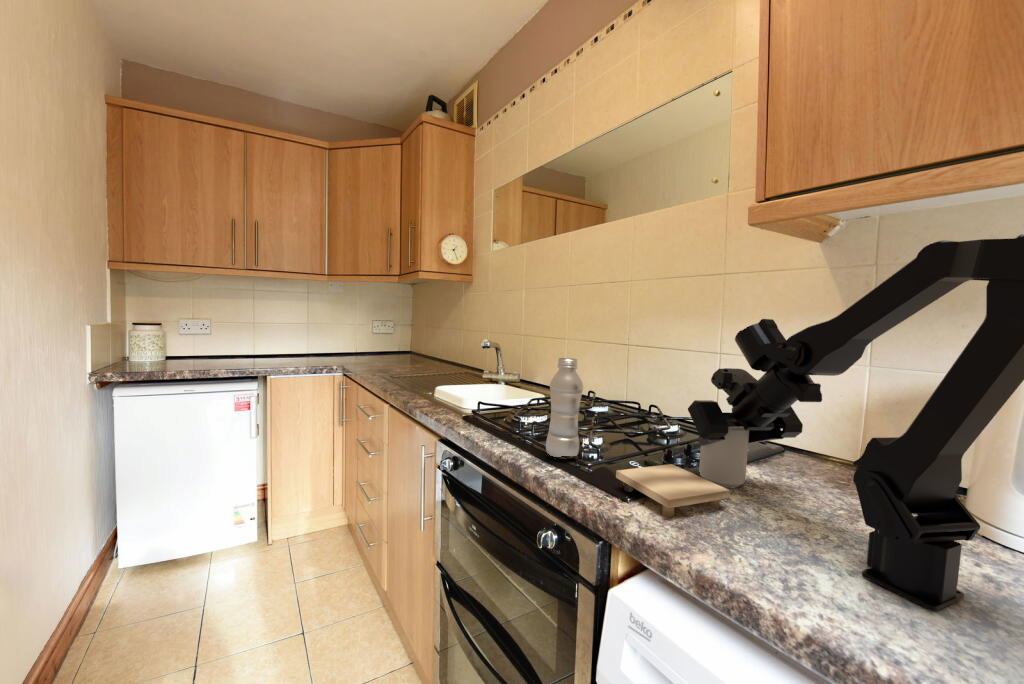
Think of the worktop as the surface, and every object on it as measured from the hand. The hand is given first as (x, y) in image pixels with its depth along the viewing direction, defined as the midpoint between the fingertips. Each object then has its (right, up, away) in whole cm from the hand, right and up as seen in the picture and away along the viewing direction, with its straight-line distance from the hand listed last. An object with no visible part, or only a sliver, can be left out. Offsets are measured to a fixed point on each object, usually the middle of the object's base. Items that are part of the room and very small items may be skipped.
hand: (718, 442), depth 78 cm
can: (0, -7, -1) cm, 7 cm away
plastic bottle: (-28, -5, +8) cm, 29 cm away
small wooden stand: (-13, -7, -10) cm, 17 cm away
